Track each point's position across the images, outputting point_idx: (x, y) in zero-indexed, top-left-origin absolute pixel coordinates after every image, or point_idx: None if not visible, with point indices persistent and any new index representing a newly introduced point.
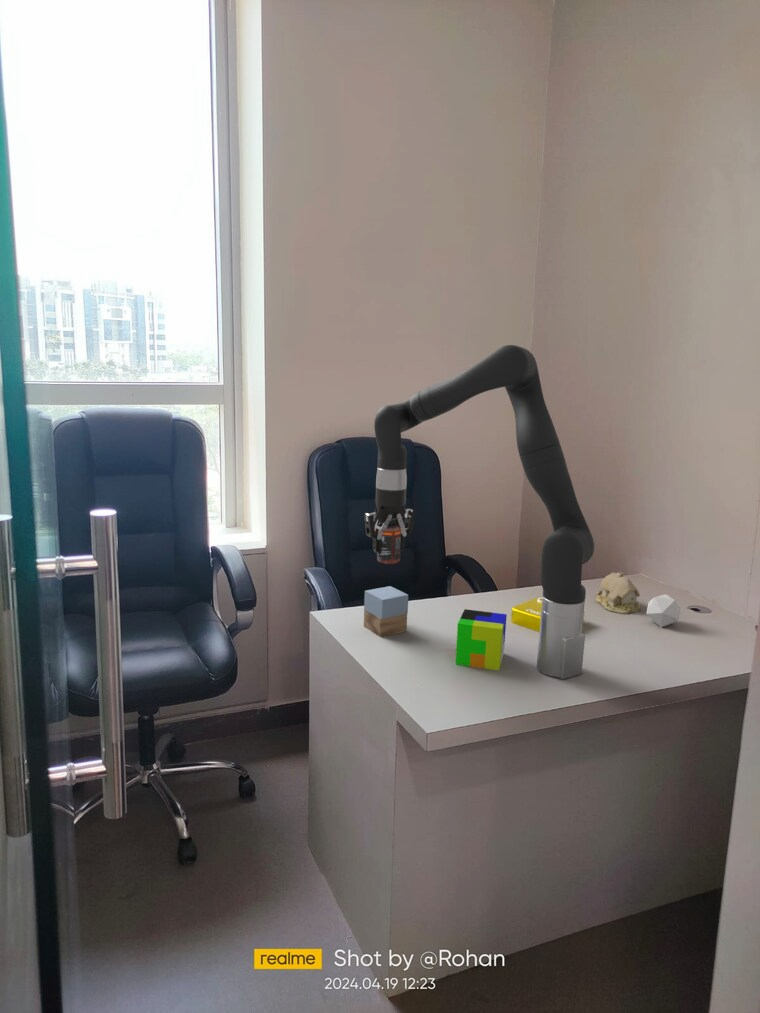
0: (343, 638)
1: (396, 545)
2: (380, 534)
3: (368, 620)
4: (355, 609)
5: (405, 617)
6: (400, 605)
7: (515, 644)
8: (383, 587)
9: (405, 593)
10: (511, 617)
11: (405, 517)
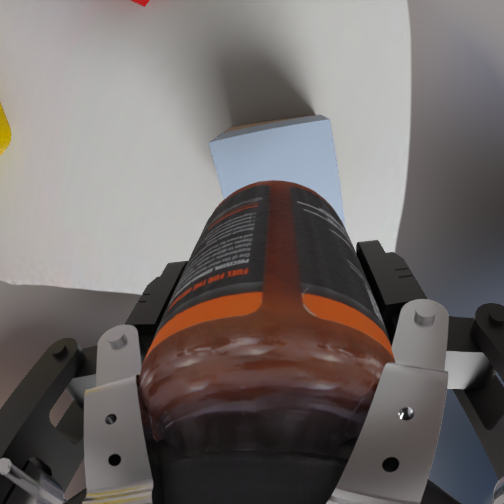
0: (402, 141)
1: (242, 229)
2: (419, 339)
3: None
4: None
5: (231, 130)
6: (247, 130)
7: (44, 23)
8: None
9: (213, 159)
10: (4, 139)
11: (67, 482)
